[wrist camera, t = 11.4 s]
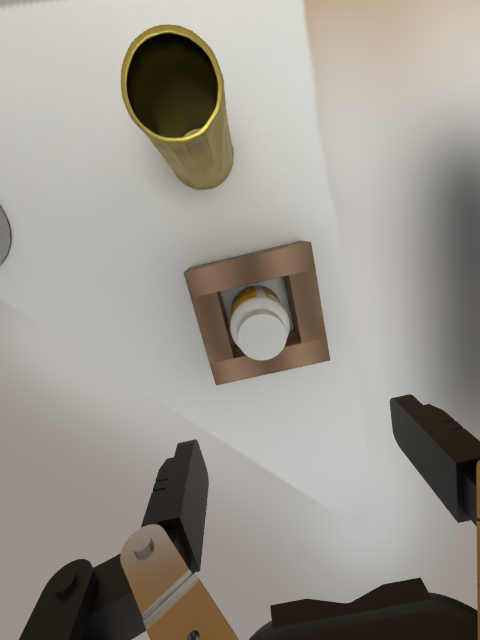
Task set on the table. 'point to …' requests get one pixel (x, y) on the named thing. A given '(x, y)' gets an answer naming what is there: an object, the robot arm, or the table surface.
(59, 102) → the table surface
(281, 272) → the socket block
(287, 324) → the supplement bottle
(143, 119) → the vase
